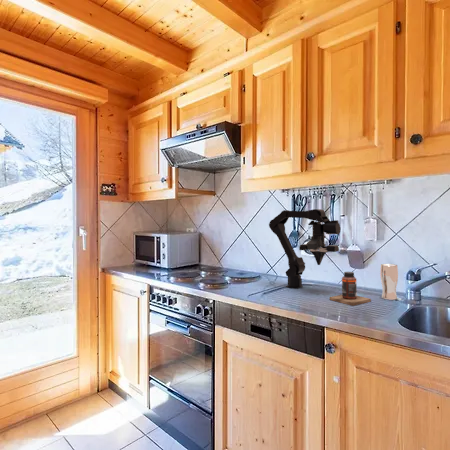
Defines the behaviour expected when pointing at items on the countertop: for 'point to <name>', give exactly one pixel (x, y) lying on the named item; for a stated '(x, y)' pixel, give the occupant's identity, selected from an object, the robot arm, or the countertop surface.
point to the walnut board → (350, 300)
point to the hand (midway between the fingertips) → (318, 264)
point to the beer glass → (389, 281)
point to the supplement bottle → (349, 286)
